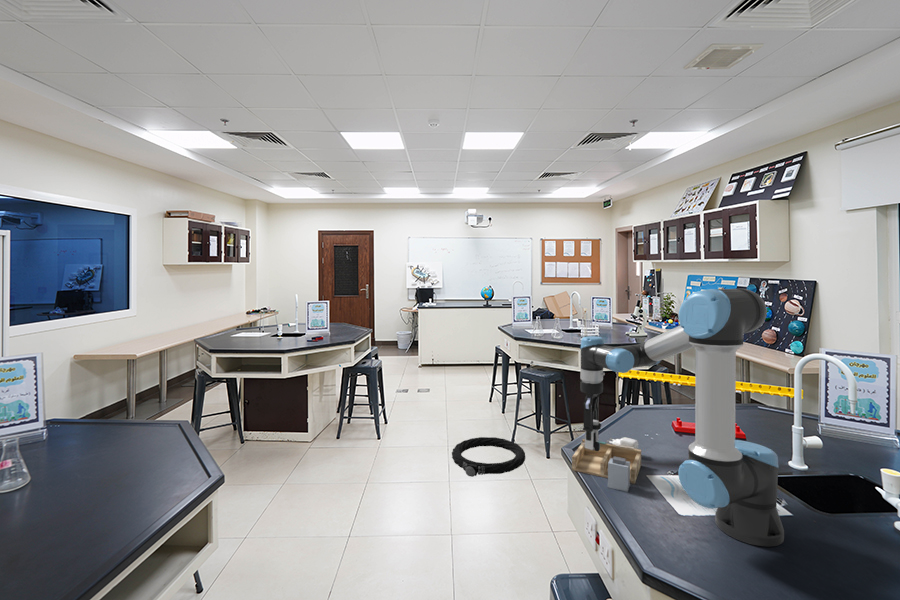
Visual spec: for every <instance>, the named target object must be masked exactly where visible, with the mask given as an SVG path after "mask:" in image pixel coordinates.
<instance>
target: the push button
mask: <svg viewBox="0 0 900 600" xmlns="http://www.w3.org/2000/svg"><path fill="white" fill-rule="evenodd" d="M601 427H602V424H601V423H600V421H598V420H594V419H593V431H594V434H593V450H595V451H599V450H600V442H599V441H600V440H599V430H601ZM581 444H582V441H581V442H580V445H581ZM583 444H585V443H583ZM581 446H584V447H585V445H581ZM590 450H591V449H590Z"/></svg>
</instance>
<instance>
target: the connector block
mask: <svg viewBox="0 0 900 600" xmlns="http://www.w3.org/2000/svg"><path fill="white" fill-rule="evenodd" d="M630 487H631V483H630V462H629V461H626V459H625V458H620V457H615V456H614V457H613V458H610V460H609V462H608V478H607V488H610V489H612V490H613V489H614V490H618V491H622V492H626V493H628V492H629V489H630Z"/></svg>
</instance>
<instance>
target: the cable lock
mask: <svg viewBox="0 0 900 600" xmlns="http://www.w3.org/2000/svg"><path fill="white" fill-rule="evenodd" d="M479 447H495V448H502V449H504V450H507V451H510V452H511V453H513V454H514V455H515V456H514V457H513V458H512V459H509V460H506V461H503V462H495V463H494V462H493V463H491V462H490V463H487V462H486V463H485V462H477V461H473V460H470V459H468V458H466V457H464V456H463V455H462V454H463V453H464V452H465V451H468V450H469V449H474V448H479ZM451 458H452V459H453V463H454V464H455V465H457V466H459V468H461V469H463V471H464V473H465V474H466V475H467V476H468V477H470V478H471V477H477V475H478V476H479V475H481V476H482V475H500V474H505V473H510V472H513V471H514V470H516V469H519V468H520V467H521V466H522V465H523V464H524V462H525V461H526V452H525V450H524V448H522V447H521V446H520V445H519V444H518V443H516V442H513V441H510V440H508V439H505V438H500V437H493V436H492V437H487V436H486V437H485V436H483V437H482V436H480V437H474V438H469V439H466V440H463V441H461V442H459V443H457V444H456V445H455V446H454V448H453V449H452V452H451Z"/></svg>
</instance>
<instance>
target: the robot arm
mask: <svg viewBox="0 0 900 600" xmlns="http://www.w3.org/2000/svg"><path fill="white" fill-rule="evenodd" d="M767 314H768V309H767V305H766V303H765V301H764V299H763V298H762V296H760V294H757V292H754V291H752V290H750V289H747V288H742V287H741V288H739V287H738V288H717V289H716V288H709V289H704V290H698V291H694V292H692V293H691V294H689V295H688V296H687V297H686V298H685V299H684V300H683V301H682V302H681V304H680V307H679V311H678V323H679V325H677V326H675V327H672V329H670V330H667V331H664V332H663V333H661V334H658V335H656V336H654V337H652V338H649V339H648V340H644V341H643V342H641V343H638V344H630V345H621V346H611V345H606V344H605V341H604V338H603V337H601V336H596V335H595V336H594V335H591V336H590V335H589V336H583V337H582V338H581V342H580V372H579V373H580V374H579V375H580V377H579V378H580V383H579V384H580V387H579V388H580V389H579V390H580V392H581V393H584V394H586V395H585V396H584V402H583V404H582V405H583V427H582V431H584V439H585V448H586V449H591V450H593V434H594V431H593V419H594V420H598V421H599V416H600V415H599V412H600V411H599V406H600V405H599V404H600V403H599V402H600V394H602V393H604V382H603V380H604V376H605V374H606V373H605V372H604V369H606V370H609V371H612V372H615V373H622V374H626V373H629V371H631V370H632V369H635V368H643V367H653V366H655V365H658V364H660V363H661V362H662V360H666V359H669V358H671V357H673V356H676V355H679V354H681V353H684V352H686V351H689V350H692V349H694V351H695V380H694V381H695V382H694V383H695V403H694V405H695V408H694V409H695V411H694V412H695V413H694V414H695V417H694V418H695V421H694V422H695V423H694V425H695V427H694V429H695V430H694V431H695V435H694V436H695V439H694V441H693V442H691V443H690V444H689V445H688V459H686V460H684V461H683V462H682V463H681V464H680V465H679V467H678V471H677V473H678V474H677V475H678V480H679V483H680V485H681V487H682V489H683V490H684V491H685V493H686V495H687V496H688V498H690V499H691V501H693V502H695V503H696V504H698V505H699V506H701V507H703V508H705V509H713V510H714V509H716V511H715V512H714V513H715V515H714V519H715V520H714V521H715V524H716V526H717V527H718V529H719V530H720V531H722V532H723V533H724V534H726V535H727V536H730V537H731V538H732V539H735V540H737V541H740V542H743V543H745V544H749V545H753V546H758V547H767V548H770V547H778V546H781V544H783V543H784V541H785V530H784V529H785V528H784V527H783V526H784V525H783V524H782V520H781V517H780V515H779V512H778V509H777V502H778V482H779V481H778V479H779V478H778V477H779V468H780V465H779V457H778V454H777V453H776V452H775V451H773V449H771V448H768V447H767V446H764V445H762V444H759V443H755V442H751V441H746V440H740V439H736V391H737V390H736V381H737V380H736V375H737V373H736V371H737V367H736V365H737V363H736V362H737V361H736V360H737V358H736V357H737V356H736V355H737V351H738V350H739V349H740V348H741V347H743V346H744V334H747V333H752V332H754V331H756V330H757V329H759V328H760V327H761V326H762V325H763V324H764V322H765V320H766V318H767ZM599 422H600V421H599Z"/></svg>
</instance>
